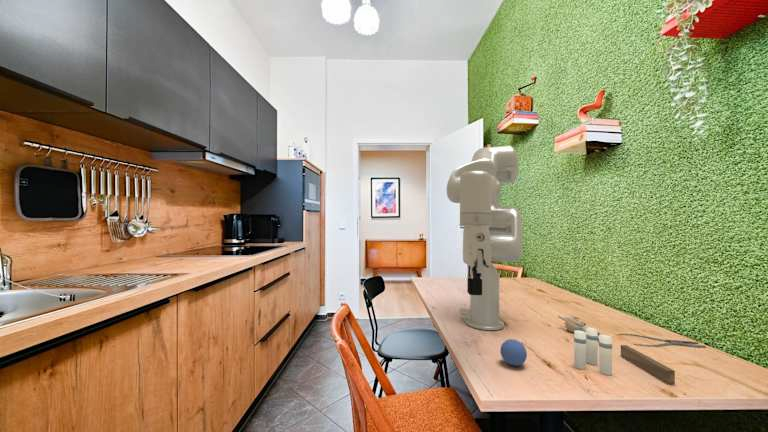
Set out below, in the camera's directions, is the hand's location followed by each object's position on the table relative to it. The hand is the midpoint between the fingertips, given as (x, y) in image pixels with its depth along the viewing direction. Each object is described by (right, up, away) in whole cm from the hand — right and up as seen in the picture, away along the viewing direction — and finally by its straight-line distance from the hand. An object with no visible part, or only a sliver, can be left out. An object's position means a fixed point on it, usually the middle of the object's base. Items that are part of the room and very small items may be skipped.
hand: (474, 294), depth 75 cm
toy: (+40, -19, +21) cm, 49 cm away
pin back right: (+29, -17, -4) cm, 35 cm away
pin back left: (+30, -18, +1) cm, 35 cm away
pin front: (+25, -17, -2) cm, 31 cm away
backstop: (+41, -18, -2) cm, 44 cm away
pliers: (+61, -19, +16) cm, 66 cm away
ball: (+9, -14, -1) cm, 17 cm away
